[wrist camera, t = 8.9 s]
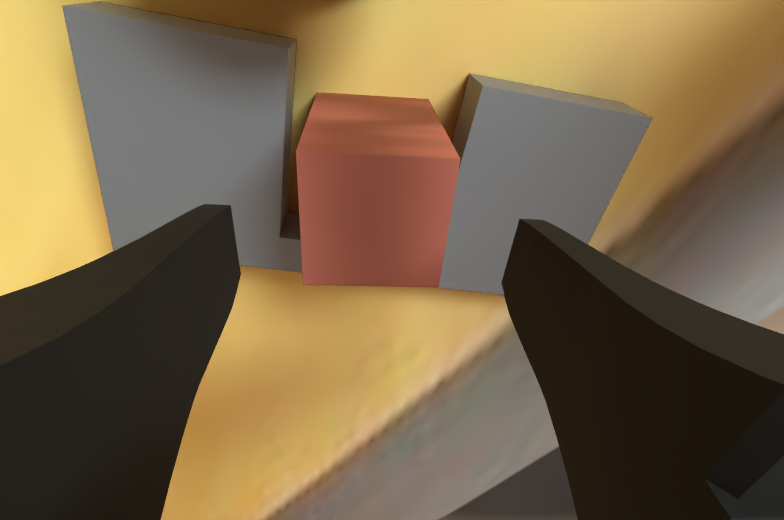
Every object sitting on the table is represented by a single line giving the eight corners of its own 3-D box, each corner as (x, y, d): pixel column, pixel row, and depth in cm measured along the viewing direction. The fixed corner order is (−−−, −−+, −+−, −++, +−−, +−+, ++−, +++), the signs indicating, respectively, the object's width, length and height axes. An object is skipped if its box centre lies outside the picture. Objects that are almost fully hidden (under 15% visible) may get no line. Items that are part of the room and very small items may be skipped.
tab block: (428, 99, 15) (460, 159, 10) (416, 198, 18) (439, 287, 13) (317, 92, 15) (295, 150, 10) (319, 195, 17) (303, 284, 12)
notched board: (622, 102, 16) (652, 118, 14) (541, 274, 20) (558, 301, 19) (99, 1, 13) (62, 5, 11) (136, 225, 17) (113, 251, 16)
